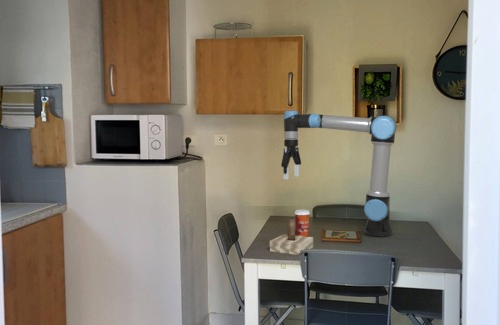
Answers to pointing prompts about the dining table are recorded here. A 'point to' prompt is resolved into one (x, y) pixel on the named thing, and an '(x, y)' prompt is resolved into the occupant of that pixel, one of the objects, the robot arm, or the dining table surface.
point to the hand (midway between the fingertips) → (291, 177)
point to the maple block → (291, 244)
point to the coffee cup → (302, 222)
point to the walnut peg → (291, 229)
